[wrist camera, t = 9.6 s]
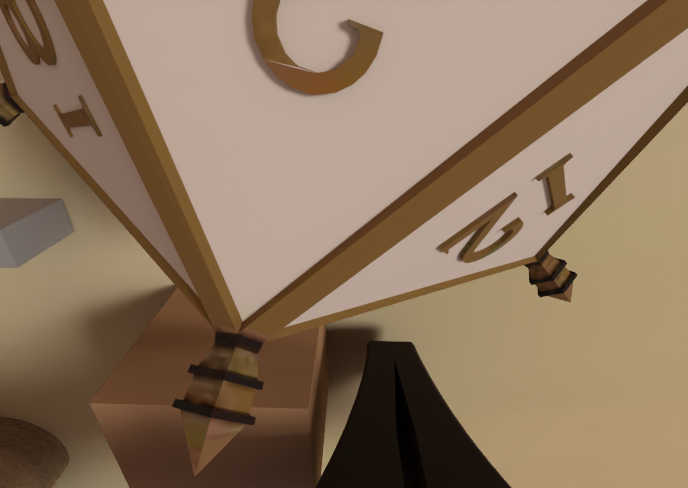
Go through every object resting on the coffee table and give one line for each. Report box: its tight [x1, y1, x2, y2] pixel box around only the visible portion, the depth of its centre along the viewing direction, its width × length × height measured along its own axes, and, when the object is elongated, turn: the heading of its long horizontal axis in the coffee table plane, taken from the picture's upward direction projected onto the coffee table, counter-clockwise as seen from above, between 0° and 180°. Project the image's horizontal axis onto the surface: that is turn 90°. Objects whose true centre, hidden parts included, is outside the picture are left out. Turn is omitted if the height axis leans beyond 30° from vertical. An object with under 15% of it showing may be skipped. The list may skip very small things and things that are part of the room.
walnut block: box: [89, 287, 328, 488], centre depth 10 cm, size 4×4×4 cm
